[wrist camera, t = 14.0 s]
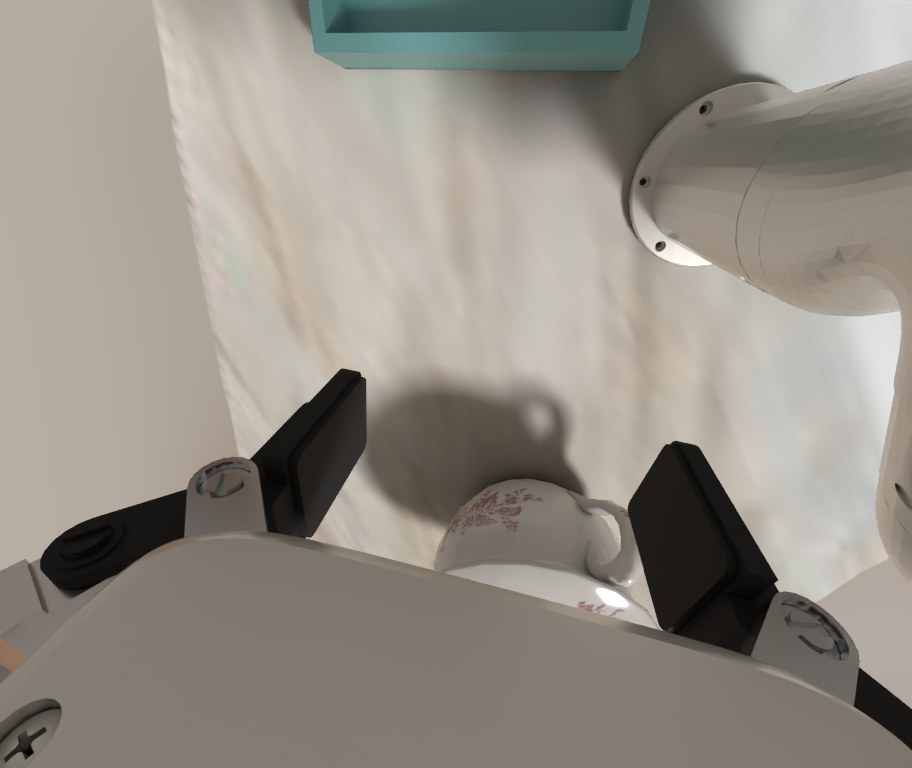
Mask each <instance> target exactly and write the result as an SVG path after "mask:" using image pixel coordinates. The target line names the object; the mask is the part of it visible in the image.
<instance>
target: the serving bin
mask: <svg viewBox="0 0 912 768" xmlns="http://www.w3.org/2000/svg"><path fill="white" fill-rule="evenodd" d="M650 2H651V0H308V5H309V13H310V21H311V28H312V36H313V44H314V51H315V53H317V54H319V55H321V56H322V57H324V58H326V59H328V60H330V61H332V62H334V63H336V64H338V65H340V66H342V67H344V68H345V69H434V70H557V71H622V70H623V69H624V68H625V67H626V66H627V65H628V64H629V63H630V62H631V61H632V60H633V58H634V57H635V56H636V55H637V54H638V53H639V49H640V45H641V41H642V37H643V32H644V28H645V24H646V19H647V15H648V11H649V7H650Z"/></svg>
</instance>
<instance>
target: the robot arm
mask: <svg viewBox="0 0 912 768" xmlns="http://www.w3.org/2000/svg"><path fill="white" fill-rule="evenodd" d="M701 106H704V107H705V111H704V113H702V114H700V113H699V109H700V107H701ZM642 178H645V183H644V184H643V185H640V180H641V179H642ZM629 211H630V219H631V223H632V226H633V230H634V231H635V233H636V235H637V237H638V239H639V241H640V242H641V243H642V244H643V245H644V247H645V248H646V249H647V250H648V251H649V252H651V253H652V254H653V255H655V256H656V257H658V258H660V259H662V260H664V261H666V262H668V263H672V264H675V265H679V266H688V267H699V266H709V265H713V264H714V265H716V266H717V267H719V268H721V269H723V270H725V271H727V272H728V273H730V274H732V275H734V276H736V277H738V278H739V279H741V280H743V281H745V282H747V283H749V284H750V285H752V286H754V287H756V288H758V289H760V290H762V291H764V292H766V293H768V294H770V295H772V296H774V297H776V298H778V299H779V300H781V301H783V302H785V303H788V304H790V305H792V306H795V307H797V308H800V309H803V310H806V311H809V312H813V313H818V314H824V315H834V316H867V315H876V314H883V313H889V312H895V311H900V312H901V331H902V332H901V342H900V351H899V356H898V362H897V367H896V373H895V378H894V389H895V393H894V398H893V403H892V408H891V413H890V419H889V424H888V429H887V434H886V439H885V445H884V450H883V455H882V460H881V465H880V470H879V473H880V475H879V482H878V488H877V496H876V519H877V526H878V530H879V534H880V537H881V540H882V543H883V545H884V547H885V550H886V552H887V554H888V556H889V557H890V559H891V561H892V562H893V564H894V566H895V567H896V568H897V570H898V571H899V572H900V574H901V575H902V576H903V577H904V579H905V580H906V581H907V583H908V584H909V585H910V586H911V587H912V60H911V61H907V62H904V63H900V64H897V65H894V66H891V67H887V68H883V69H880V70H876V71H873V72H869V73H866V74H862V75H859V76H855V77H851V78H848V79H844V80H841V81H837V82H834V83H830V84H826V85H823V86H819V87H816V88H812V89H809V90H805V91H802V92H798V93H793V92H792V91H791V90H788V89H786V88H783V87H781V86H779V85H776V84H770V83H763V82H750V83H740V84H735V85H732V86H729V87H725V88H722V89H719V90H716V91H714V92H712V93H709V94H707V95H705V96H703V97H701V98H700V99H698V100H696V101H695V102H693V103H691V104H690V105H688V106H686V107H685V108H684V109H682V110H681V111H680V112H679V113H678V114H676V115H675V116H674V117H673V118H672V119H670V120H669V121H668V122H667V123H666V125H665V126H664V127H663V128H662V129H661V130H660V131H659V132H658V133H657V134H656V136H655V137H654V138H653V140H652V141H651V143H650V144H649V146H648V147H647V149H646V150H645V152H644V154H643V156H642V158H641V160H640V162H639V164H638V166H637V168H636V171H635V174H634V177H633V181H632V184H631V189H630V197H629ZM658 242H660V246H659V247H655V245H656V243H658ZM366 440H367V434H366V379H365V378H364V377H361V373H360V372H357V371H353V370H348V369H340V370H339V371H338V372H337V373H336V374H335V376H334V377H333V378H332V379H331V380H330V381H329V382H328V383H327V384H326V385H325V386H324V387H323V388H322V389H321V390H320V391H319V392H318V393H317V394H316V396H315V397H314V398H313V399H312V400H311V401H310V402H307V403H305V404H303V405H302V406H301V407H300V408H299V409H298V410H297V411H296V412H295V413H294V414H293V415H292V416H291V417H290V418H289V419H288V420H287V422H286V423H285V424H284V425H283V426H282V427H281V428H280V429H279V430H278V431H277V432H276V433H275V434H274V435H273V436H272V437H271V438H270V439H269V440H268V441H267V442H266V443H265V444H264V445H263V446H262V447H261V448H260V449H259V450H258V451H257V453H256V454H255V455H254V456H253V457H252V458H251V459H250V460H249V459H246V458H243V457H230V458H223V459H220V460H217V461H214V462H211V463H210V464H208V465H206V466H204V467H203V468H201V469H200V470H199V471H197V472H196V473H195V474H194V476H193V477H192V478H191V479H190V481H189V484H188V487H187V489H186V490H183V491H180V492H176V493H173V494H170V495H167V496H163V497H160V498H157V499H153V500H150V501H147V502H144V503H141V504H137V505H134V506H131V507H127V508H124V509H121V510H118V511H115V512H111V513H108V514H105V515H101V516H98V517H95V518H92V519H90V520H87V521H84V522H82V523H79V524H78V525H76V526H74V527H72V528H70V529H69V530H67V531H65V532H64V533H63V534H61V535H60V536H59V537H58V538H56V539H55V540H54V541H53V542H52V543H51V544H50V545H49V547H48V548H47V549H46V550H45V551H44V553H43V555H42V557H41V558H40V559H38V560H36V561H34V562H32V563H29V562H28V561H27V560H26V559H24V560H22V561H20V562H18V563H16V564H14V565H12V566H10V567H8V568H6V569H4V570H2V571H0V768H912V709H911V708H909V707H908V706H907V705H906V704H905V703H903V702H902V701H901V700H900V699H898V698H897V697H896V696H894V695H893V694H892V693H891V692H890V691H888V690H887V689H886V688H884V687H883V686H882V685H881V684H879V683H878V682H877V681H876V680H874V679H873V678H872V677H871V676H869V675H868V674H867V673H866V672H864V671H863V670H862V669H861V668H859V654H858V650H857V648H856V646H855V644H854V642H853V640H852V639H851V637H850V636H849V635H848V633H847V632H846V630H845V629H844V628H843V627H842V626H841V625H840V624H839V623H838V622H837V621H836V620H835V619H834V618H833V617H832V616H831V615H830V614H829V613H827V612H826V611H825V610H824V609H823V608H821V607H820V606H819V605H817V604H815V603H814V602H812V601H810V600H809V599H807V598H805V597H803V596H800V595H798V594H795V593H791V592H780V593H779V591H778V589H777V588H776V586H775V584H774V583H775V582H776V581H778V579H777V577H776V576H775V574H774V572H773V571H772V569H771V567H770V565H769V564H768V562H767V560H766V559H765V557H764V555H763V554H762V552H761V550H760V549H759V547H758V545H757V544H756V542H755V540H754V539H753V537H752V535H751V534H750V532H749V530H748V529H747V527H746V525H745V524H744V522H743V520H742V519H741V517H740V515H739V513H738V512H737V510H736V508H735V507H734V505H733V503H732V502H731V500H730V498H729V497H728V495H727V493H726V492H725V490H724V488H723V487H722V485H721V483H720V482H719V480H718V478H717V477H716V475H715V473H714V472H713V470H712V468H711V466H710V465H709V463H708V461H707V460H706V458H705V456H704V455H703V453H702V451H701V450H700V448H699V447H698V446H696V445H693V444H688V443H683V442H679V441H674V442H672V443H671V444H666V445H665V446H664V447H663V449H662V450H661V452H660V453H659V455H658V457H657V458H656V460H655V462H654V463H653V465H652V466H651V468H650V470H649V471H648V473H647V474H646V476H645V478H644V479H643V481H642V482H641V484H640V486H639V487H638V489H637V490H636V492H635V494H634V495H633V497H632V499H631V500H630V502H629V505H628V515H629V519H630V522H631V526H632V529H633V533H634V537H635V540H636V544H637V547H638V551H639V555H640V558H641V562H642V566H643V569H644V573H645V576H646V580H647V584H648V587H649V591H650V594H651V598H652V602H653V605H654V609H655V613H656V616H657V620H658V623H659V626H660V627H661V629H662V630H664V631H661V630H658V629H654V628H650V627H647V626H643V625H639V624H635V623H632V622H628V621H624V620H620V619H617V618H613V617H609V616H605V615H602V614H598V613H594V612H590V611H587V610H583V609H579V608H576V607H572V606H568V605H564V604H561V603H557V602H553V601H549V600H545V599H542V598H538V597H534V596H530V595H526V594H522V593H519V592H515V591H511V590H507V589H503V588H500V587H496V586H492V585H488V584H484V583H480V582H477V581H473V580H469V579H465V578H461V577H457V576H454V575H450V574H446V573H442V572H438V571H434V570H430V569H426V568H423V567H419V566H415V565H411V564H407V563H403V562H399V561H395V560H391V559H387V558H383V557H380V556H376V555H372V554H368V553H364V552H360V551H356V550H352V549H347V548H343V547H339V546H335V545H331V544H326V543H322V542H318V541H314V540H310V539H305V538H306V537H309V538H310V537H312V536H313V535H314V533H315V532H316V530H317V528H318V527H319V525H320V523H321V522H322V520H323V518H324V516H325V515H326V513H327V511H328V510H329V508H330V506H331V505H332V503H333V501H334V500H335V498H336V496H337V495H338V493H339V491H340V490H341V488H342V486H343V485H344V483H345V481H346V480H347V478H348V476H349V474H350V473H351V471H352V469H353V468H354V466H355V464H356V463H357V461H358V459H359V458H360V456H361V454H362V453H363V451H364V449H365V446H366ZM665 631H666V632H665Z"/></svg>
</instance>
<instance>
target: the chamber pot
mask: <svg viewBox="0 0 912 768" xmlns="http://www.w3.org/2000/svg"><path fill="white" fill-rule="evenodd" d="M600 515H612V516H614V517H615V519H616V521H617V523H618V524H619V529H620V534H621V547H620V545H619V543H618V540H617V538H616V537H615V535H614V534H613V532H612V530H611V529H610V527H609V525H608V524H607V522H606V521H605V520H604V519H603V518H602V517H601V516H600ZM643 570H644V569H643V566H642V562H641V558H640V555H639V551H638V547H637V544H636V540H635V537H634V533H633V529H632V526H631V522H630V519H629V515H628V510H626V509H624V508H623V507H621V506H619V505H617V504H616V503H614V502H612V501H608V500H596V499H588V498H586V497H583V496H581V495H579V494H577V493H575V492H573V491H569V490H567V489H565V488H562V487H560V486H558V485H555V484H553V483H550V482H546V481H540V480H534V479H512V480H507V481H503V482H500V483H497V484H493V485H490V486H488V487H487V488H485V489H484V490H482V491H481V492H480V493H478V494H477V495H475V496H474V497H473V498H471V499H470V500H469V501H468V502H466V503H465V504H464V505H463V506H461V507H460V508H459V509H458V511H457V512H456V514H455V515H454V517H453V519H452V520H451V522H450V524H449V526H448V528H447V530H446V532H445V534H444V536H443V538H442V540H441V542H440V544H439V546H438V550H437V554H436V558H435V562H434V571H438V572H442V573H446V574H450V575H454V576H457V577H461V578H465V579H469V580H473V581H477V582H480V583H484V584H488V585H492V586H496V587H500V588H503V589H507V590H511V591H515V592H519V593H522V594H526V595H530V596H534V597H538V598H542V599H545V600H549V601H553V602H557V603H561V604H564V605H568V606H572V607H576V608H579V609H583V610H587V611H590V612H594V613H598V614H602V615H605V616H609V617H613V618H617V619H620V620H624V621H628V622H632V623H635V624H639V625H643V626H647V627H650V628H654V629H658V630H660V629H659V627H658V626H657V624H656V623H655V621H654V620H653V618H652V617H651V615H650V613H649V612H648V610H647V609H645V608H644V607H642V606H641V605H640V604H638V603H637V602H635V586H634V581H635V580H637V579H638V578H639V576H640V575H641V573H642V572H643Z"/></svg>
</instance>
